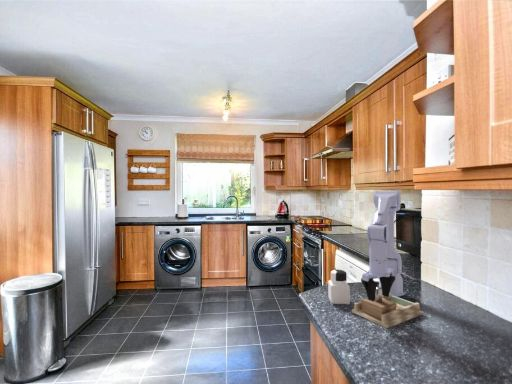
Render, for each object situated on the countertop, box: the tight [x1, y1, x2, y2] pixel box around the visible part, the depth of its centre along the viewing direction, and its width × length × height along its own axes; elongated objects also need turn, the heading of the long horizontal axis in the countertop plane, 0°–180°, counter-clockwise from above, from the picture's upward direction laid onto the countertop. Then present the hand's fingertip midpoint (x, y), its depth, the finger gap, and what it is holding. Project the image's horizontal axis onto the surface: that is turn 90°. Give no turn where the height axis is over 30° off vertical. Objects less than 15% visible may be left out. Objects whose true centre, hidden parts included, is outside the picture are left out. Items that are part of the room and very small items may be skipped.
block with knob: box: [360, 286, 397, 319], centre depth 97 cm, size 8×8×9 cm
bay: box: [351, 293, 424, 329], centre depth 99 cm, size 20×14×4 cm
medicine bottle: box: [327, 269, 351, 305], centre depth 111 cm, size 7×7×12 cm
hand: (378, 298), depth 97 cm, fingers open, 7 cm apart
